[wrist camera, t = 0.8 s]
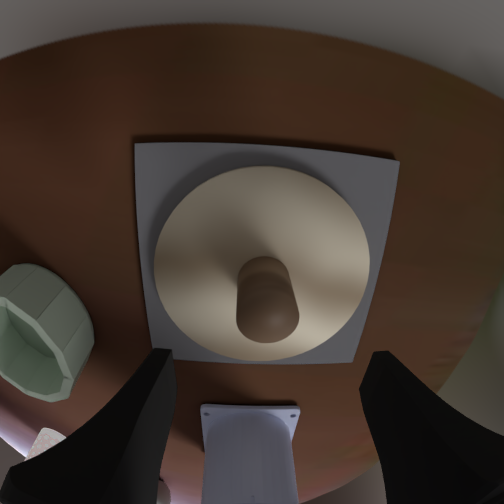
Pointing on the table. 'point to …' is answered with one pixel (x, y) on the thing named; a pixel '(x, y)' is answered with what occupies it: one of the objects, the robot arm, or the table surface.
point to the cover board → (261, 231)
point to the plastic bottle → (163, 493)
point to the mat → (243, 155)
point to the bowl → (42, 332)
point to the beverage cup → (44, 442)
